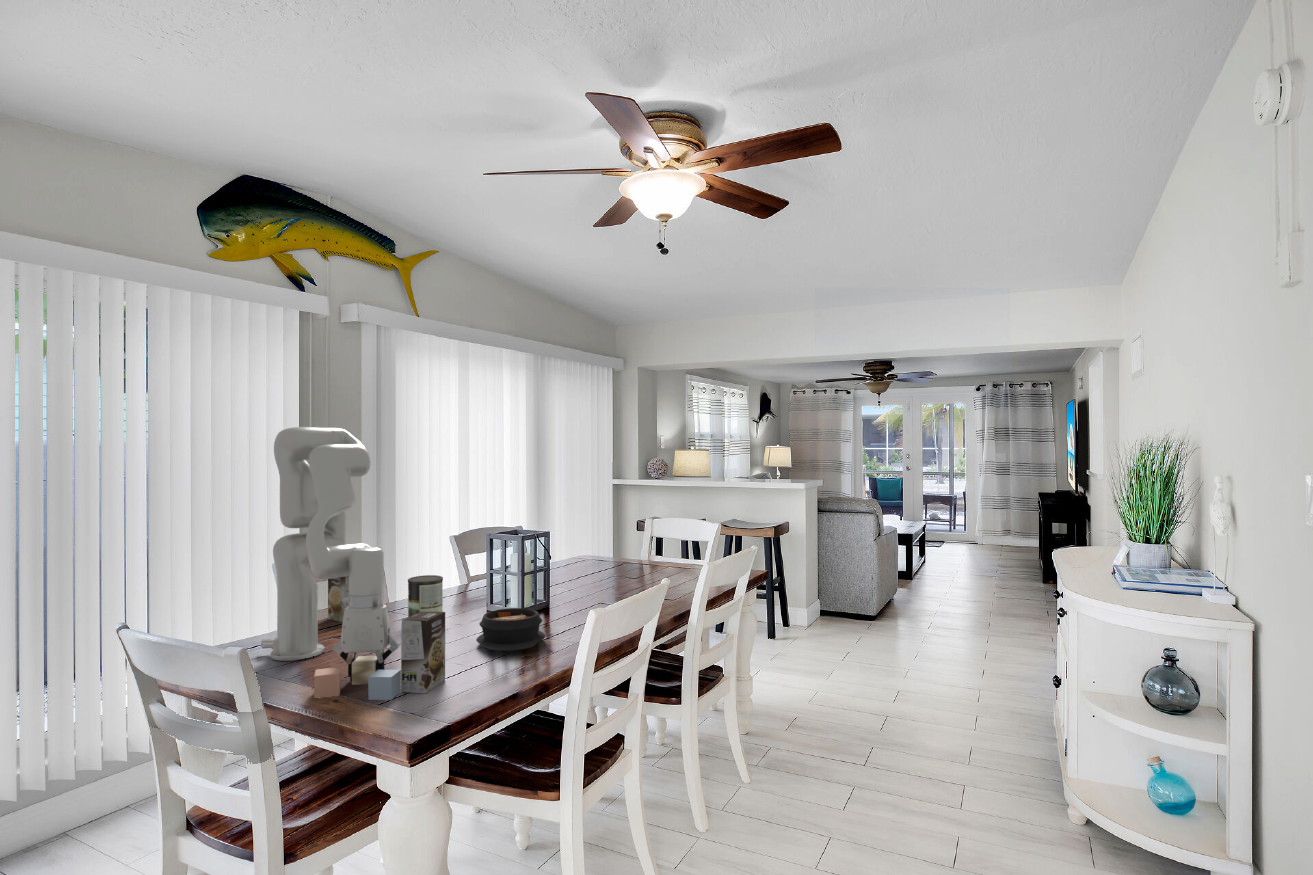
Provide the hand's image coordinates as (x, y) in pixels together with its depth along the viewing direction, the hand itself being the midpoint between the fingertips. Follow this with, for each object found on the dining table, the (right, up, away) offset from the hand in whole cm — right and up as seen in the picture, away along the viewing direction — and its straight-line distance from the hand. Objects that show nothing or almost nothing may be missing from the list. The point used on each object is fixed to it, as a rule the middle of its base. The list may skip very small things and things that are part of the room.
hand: (366, 678), depth 164 cm
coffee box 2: (+15, -1, -4) cm, 15 cm away
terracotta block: (-5, -1, -9) cm, 10 cm away
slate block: (+8, -1, -10) cm, 13 cm away
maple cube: (0, -1, 0) cm, 1 cm away
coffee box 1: (-31, -2, +59) cm, 67 cm away
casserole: (+28, -1, +30) cm, 41 cm away
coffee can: (-3, -1, +52) cm, 52 cm away
